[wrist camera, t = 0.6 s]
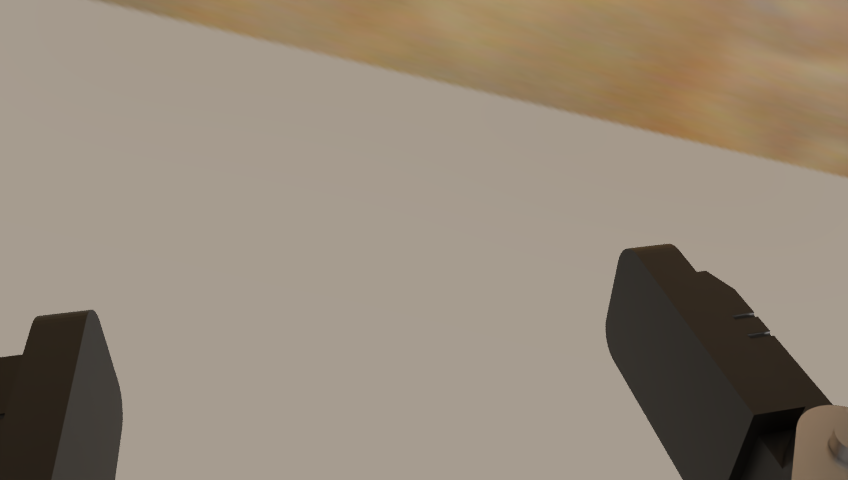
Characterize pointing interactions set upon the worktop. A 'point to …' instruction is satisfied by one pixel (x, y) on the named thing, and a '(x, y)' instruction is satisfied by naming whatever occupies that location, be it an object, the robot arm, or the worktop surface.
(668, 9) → the worktop surface
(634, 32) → the worktop surface
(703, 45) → the worktop surface
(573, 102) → the worktop surface
